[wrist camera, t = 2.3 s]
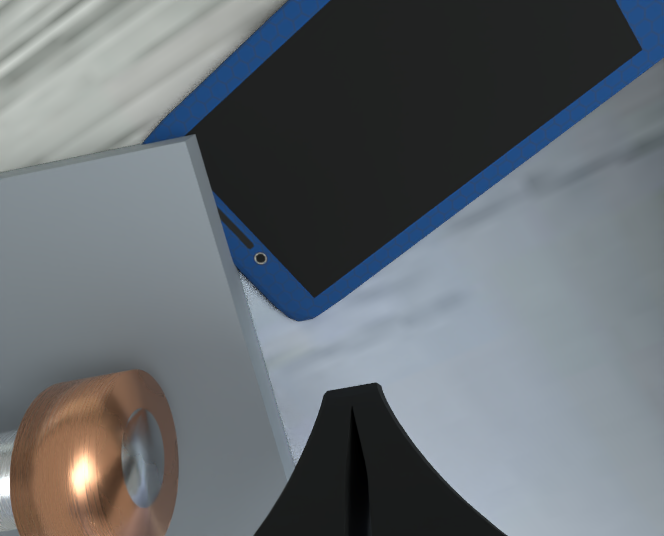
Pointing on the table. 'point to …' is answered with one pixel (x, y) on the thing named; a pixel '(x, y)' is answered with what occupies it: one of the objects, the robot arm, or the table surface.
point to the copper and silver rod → (92, 460)
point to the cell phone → (391, 123)
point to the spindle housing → (142, 317)
